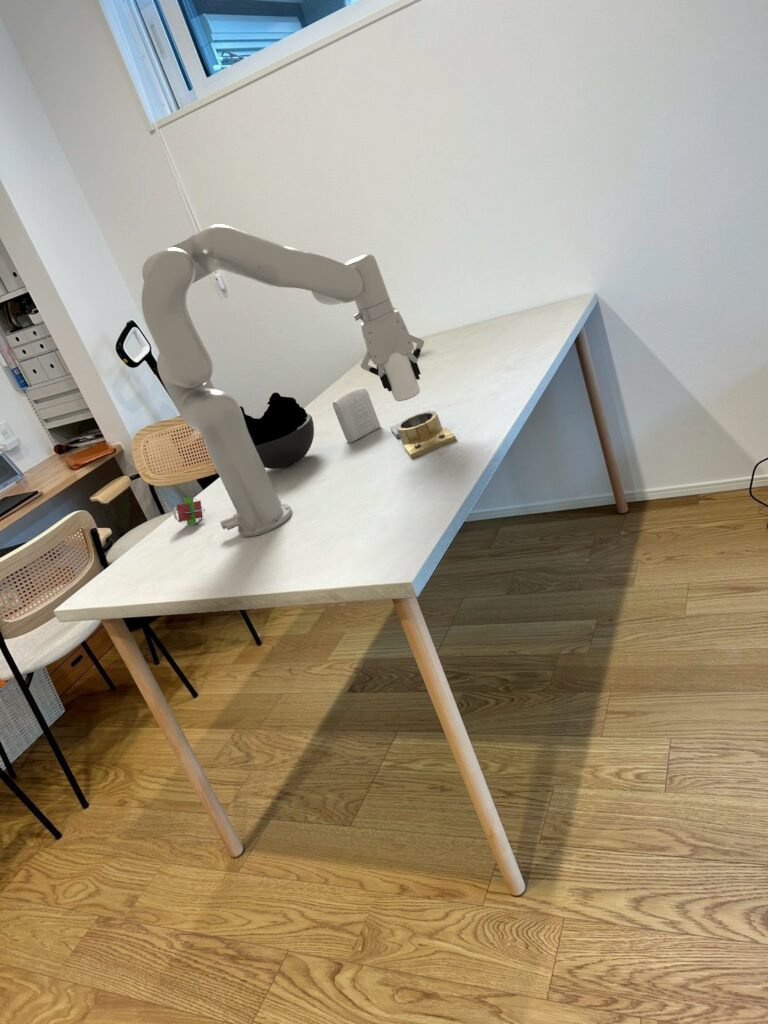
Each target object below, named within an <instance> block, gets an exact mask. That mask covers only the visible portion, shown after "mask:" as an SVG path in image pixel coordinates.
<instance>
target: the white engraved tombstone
mask: <svg viewBox="0 0 768 1024" xmlns="http://www.w3.org/2000/svg"><path fill="white" fill-rule="evenodd" d="M332 407H333V410H334V412H335V416H336V418H337V420H338V423H339V425H340V428H341V430H342V433H343V436H344V438H345V440H346V441H347V443H353V442H355V441H357V440H359V439H361V438H362V437H365V436H366V435H368V434H370V433H372V432H374V431H375V430H377V429H379V428H380V427H381V423H380V421H379V419H378V416H377V413H376V410H375V407H374V405H373V403H372V399H371V396H370V394H369V392H368V390H367V389H366V388H365V387H363V386H362V387H361V386H360V387H354V388H351V389H349V390H346V391H344V392H343V393H341V394H340V395H339V396H337V397H336V399H334V401H333V402H332Z"/></svg>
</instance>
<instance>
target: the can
mask: <svg viewBox="0 0 768 1024" xmlns="http://www.w3.org/2000/svg"><path fill="white" fill-rule="evenodd" d="M392 351H393V350H392ZM384 373H385V375H386V376H387V378H388V381H389V384H390V386H391V389H392V390H391V391H390V392H391V394H392V397H393V399H394V400H395V401H397V402H404V401H407V400H410V399H412V398H415V397H416V396H417V395H419V394H420V392H421V388H420V385H419V383H418V380H417V379H416V377H415V374H414V371H413V368H412V366H411V363H410V359H409V357H408V356H407V355H405V356H402V355H401V354H400V353H393V354H392V355H391V356H390V357H389V362H387V363H386V364H384Z"/></svg>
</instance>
